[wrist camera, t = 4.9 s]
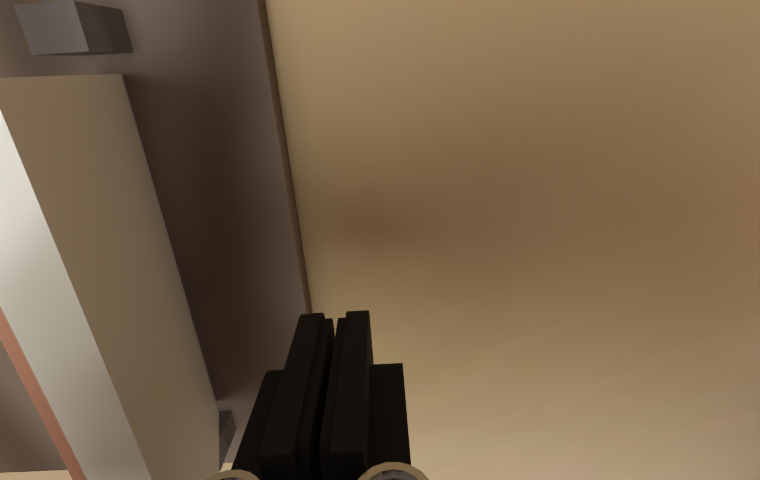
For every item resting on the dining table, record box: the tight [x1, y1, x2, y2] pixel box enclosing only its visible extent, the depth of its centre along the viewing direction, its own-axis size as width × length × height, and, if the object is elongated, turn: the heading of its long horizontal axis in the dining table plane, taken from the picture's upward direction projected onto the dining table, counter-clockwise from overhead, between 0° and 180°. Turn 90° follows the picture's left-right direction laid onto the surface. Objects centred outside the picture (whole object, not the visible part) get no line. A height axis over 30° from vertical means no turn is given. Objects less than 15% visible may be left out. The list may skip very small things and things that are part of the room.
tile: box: [0, 74, 219, 480], centre depth 12 cm, size 9×14×1 cm
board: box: [0, 0, 312, 473], centre depth 16 cm, size 17×22×3 cm
